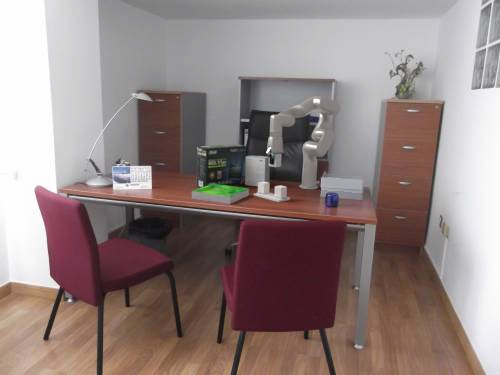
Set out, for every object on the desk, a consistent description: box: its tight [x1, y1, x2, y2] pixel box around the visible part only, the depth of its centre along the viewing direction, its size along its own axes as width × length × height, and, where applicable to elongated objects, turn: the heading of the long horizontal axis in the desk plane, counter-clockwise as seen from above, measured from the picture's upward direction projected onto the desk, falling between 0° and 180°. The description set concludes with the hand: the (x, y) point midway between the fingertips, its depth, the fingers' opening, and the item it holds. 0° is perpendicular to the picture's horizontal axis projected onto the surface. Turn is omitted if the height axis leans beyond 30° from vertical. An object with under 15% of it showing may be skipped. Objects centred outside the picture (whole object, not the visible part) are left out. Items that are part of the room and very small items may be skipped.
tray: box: [191, 184, 250, 205], centre depth 244 cm, size 25×25×5 cm
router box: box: [195, 144, 247, 188], centre depth 277 cm, size 36×11×27 cm, turn 134°
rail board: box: [253, 182, 291, 203], centre depth 247 cm, size 10×21×8 cm, turn 44°
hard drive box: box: [244, 155, 271, 187], centre depth 280 cm, size 16×8×20 cm, turn 63°
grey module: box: [269, 153, 283, 168], centre depth 259 cm, size 5×6×8 cm
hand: (274, 163), depth 259 cm, fingers closed on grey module, 5 cm apart
